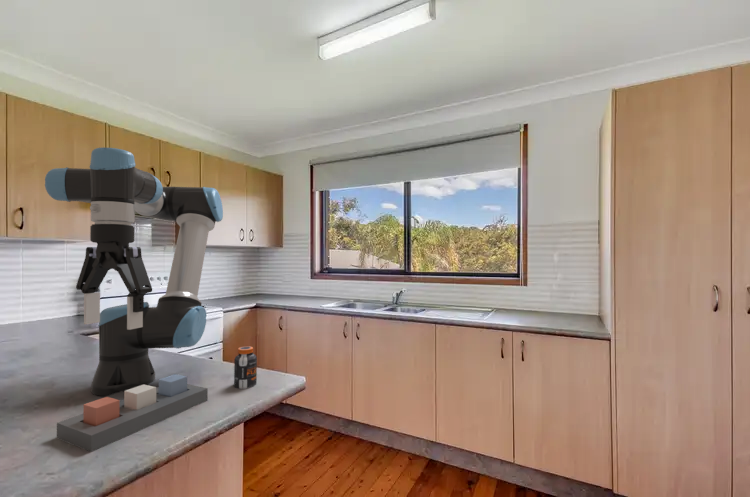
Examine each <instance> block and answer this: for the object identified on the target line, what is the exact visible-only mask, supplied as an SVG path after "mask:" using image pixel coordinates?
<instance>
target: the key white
mask: <svg viewBox="0 0 750 497" xmlns="http://www.w3.org/2000/svg"><path fill="white" fill-rule="evenodd" d="M156 388H157V387H156V386H152V385H149V384H147V385H141V386H138V387H135V388H132V389H129V390H126V391H123V392H124V394H123V395H124V396H123V397H124V398H123V399H124V407H125V408H129V409H132V410H135V411H136V410H139V409H141V408H144V407H147V406H149V405H152V404H154V403H156Z"/></svg>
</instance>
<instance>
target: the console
mask: <svg viewBox="0 0 750 497" xmlns="http://www.w3.org/2000/svg"><path fill="white" fill-rule="evenodd" d="M208 400H209V399H208V388H207V387H202V386H199V385H194V384H190V383H187V391H185V392H183V393H180V394H177V395H175V396H172V397H167V396H163V395H159V386H157V387H156V403H154V404H152V405H149V406H147V407H144V408H141V409H139V410H136V411H135V410H132V409H129V408H125V407H124V398H123V399H121V400H120V399H119V417H118V418H116V419H113V420H111V421H108V422H105V423H103V424H100V425H98V426H95V427H94V426H91V425H89V424H86V423H83V413H81V414H78V415H74V416H73V417H70V418H67V419H64V420H61V421H58V422H56V439H58V440H60V441H63V442H65V443H69V444H70V445H73V446H76V447H78V448H81V449H83V450H86V451H88V452H91V453H92V452H94V451H97V450H99V449H101V448H103V447H106V446H107V445H111V444H112V443H114V442H117V441H119V440H121V439H124V438H126V437H128V436H131V435H133V434H135V433H138V432H139V431H142V430H144V429H146V428H148V427H151V426H154V425H156V424H158V423H161V422H163V421H165V420H167V419H169V418H171V417H174V416H177V415H178V414H181V413H183V412H185V411H187V410H190V409H191V408H194V407H196V406H198V405H201V404H203V403H205V402H208Z"/></svg>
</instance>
